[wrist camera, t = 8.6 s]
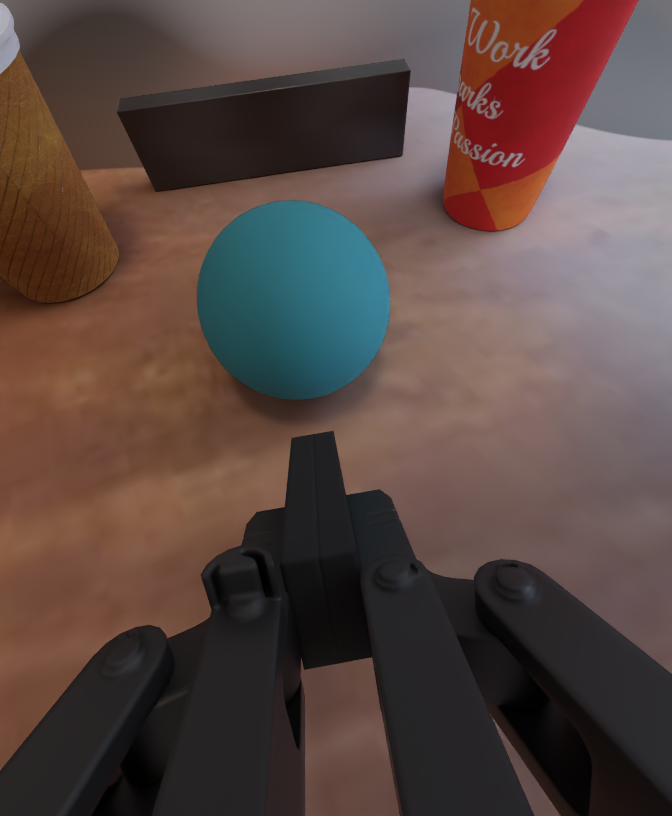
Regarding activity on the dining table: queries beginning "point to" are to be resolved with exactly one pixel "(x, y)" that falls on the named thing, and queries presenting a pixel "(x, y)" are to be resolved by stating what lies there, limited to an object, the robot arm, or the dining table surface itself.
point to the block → (269, 124)
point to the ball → (293, 300)
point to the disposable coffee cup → (43, 194)
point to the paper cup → (522, 100)
